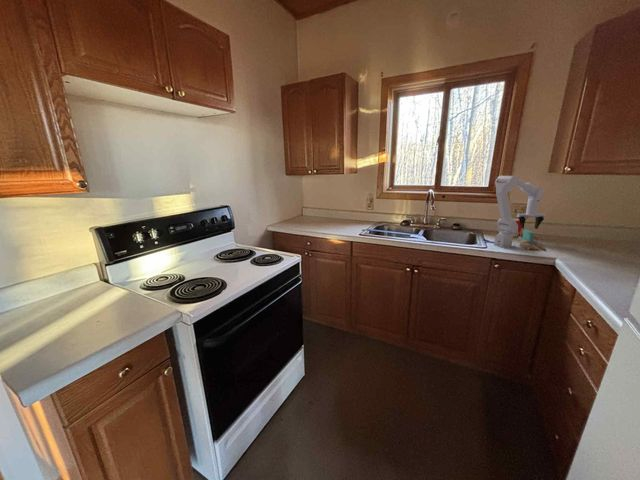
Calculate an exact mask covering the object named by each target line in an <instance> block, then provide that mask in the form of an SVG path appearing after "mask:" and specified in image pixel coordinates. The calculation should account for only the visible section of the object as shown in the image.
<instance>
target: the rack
mask: <svg viewBox="0 0 640 480" xmlns="http://www.w3.org/2000/svg"><path fill="white" fill-rule="evenodd" d="M530 245H531V244H530ZM519 247H520V248H521V249H523V250H525V249H524V248H522V247H521V246H520V245H519ZM546 250H547V249H546V248H545V247H543V246H541V245H539V244H538V243H537V244H536V245H531V246H530V250H529V251H535V252H546ZM525 251H526V250H525Z"/></svg>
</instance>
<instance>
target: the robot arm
mask: <svg viewBox="0 0 640 480" xmlns="http://www.w3.org/2000/svg"><path fill="white" fill-rule="evenodd" d="M494 185H495V194H496V195H495V196H496V200H497V206H498V212H499V215H500V218H499V219H498V220H497V221H496V222H497V223H496V224H497V225H496V228H497V230H498V232H499V233H497V234H496V235H495V236H494V243H493V246H496V247H500V248H510V247H512V246H513V241H514V237H513V234H514V233H515V232H516V231H517V230H518V224H517V223H516V220H514V219H515V218H513V217H512V212H511V206H510V201H509V195H508V194H509V193H510V192H512V191H513V190H514V188H515V187H517V188H520V192H523V193H524V194H526V196H527V197H528V199H527V205H526V210H525V213H517V215H516V217H517V219H519V221H520V224H521V228H522V230H523V229H524V228H525V223H526V221H527V218H535V221H534V223H535V224H534V229H535V230H537V229H538V228H539V226H540V225H541V223H542V222H543V221H544V220H545V218H546V215H547V214H545V213H539V206H540V201H541V200H542V197H543V196H544V193H545V192H544V189H543V188H542V187H537V185H534V184H532V182H531V181H530V182H524V181H523V180H522V179H521V178H520V177H519V176H517V175H499V176H497V178H496V179H495V181H494ZM524 230H525V229H524Z"/></svg>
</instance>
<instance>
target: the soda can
mask: <svg viewBox="0 0 640 480" xmlns="http://www.w3.org/2000/svg"><path fill="white" fill-rule="evenodd" d="M513 219H514V220H516V223H517V224H518V230H517V231H516V232H515V233H514V234H513V238H516V237H517V238H518V236H520V237H522V234H523V233H522V231H523V229H522V228H521V224H520V221H519V219H518V218H513Z"/></svg>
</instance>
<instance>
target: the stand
mask: <svg viewBox="0 0 640 480" xmlns="http://www.w3.org/2000/svg"><path fill="white" fill-rule="evenodd" d="M517 240H518V241H519V242H520V240H524V241H526V242H527V243H528V244H531V245H533V246H536V244H538V241H537V240H535V239H533V241H527V240H525V239H524V238H523V236H518V237H517Z"/></svg>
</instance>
